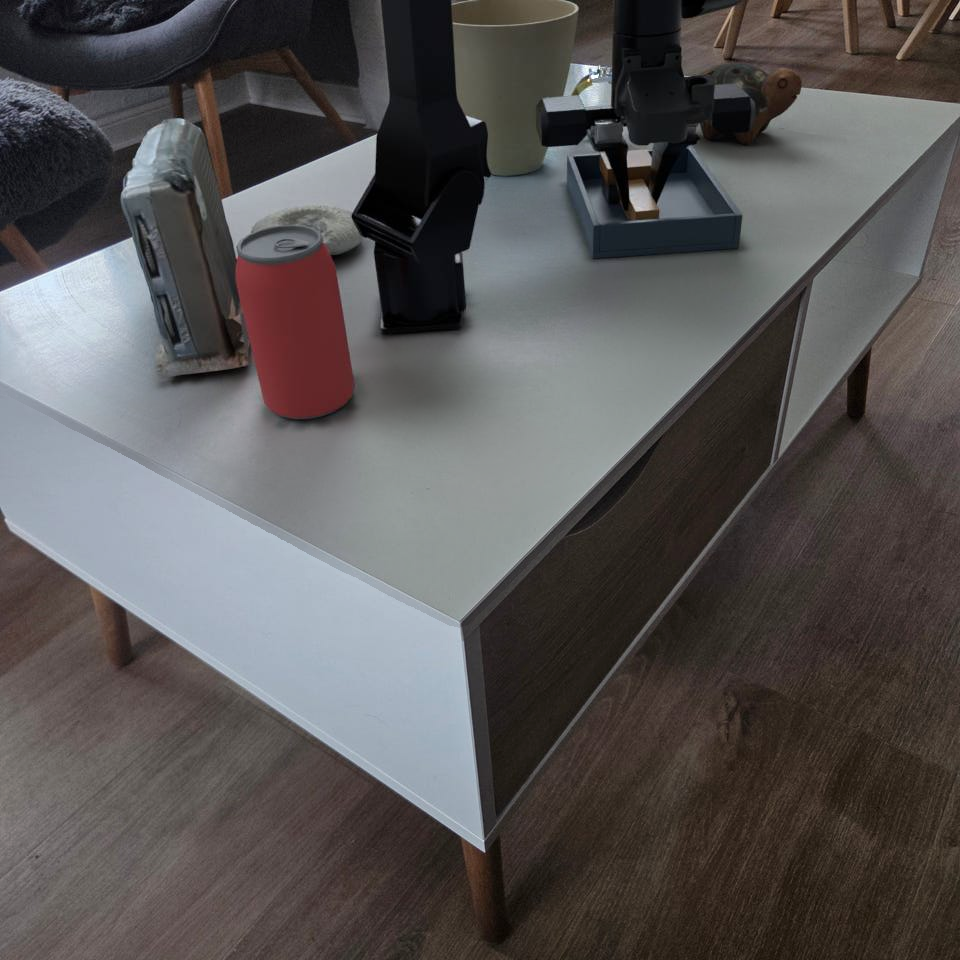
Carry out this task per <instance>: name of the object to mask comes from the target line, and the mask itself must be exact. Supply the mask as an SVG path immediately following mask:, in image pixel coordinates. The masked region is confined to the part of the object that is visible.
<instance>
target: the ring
mask: <svg viewBox="0 0 960 960" xmlns="http://www.w3.org/2000/svg"><path fill="white" fill-rule="evenodd" d="M608 68H609V70H608ZM611 82H612V67H609V66H607V65H605V66H604V67H602V65H601V64H599V65H597V68H596V70H594V71H592V67H590V68H588V74H586V75H584V76H583V77H582V78H581V79H580V80H579V81H578V82H577V84H576V85H575V87H574V89H573V91H572V93H571V95H570V96H576V95H579V96H580V95H581V93H582V92H583V91H584V90H586V89H587V88H589V87H591V86H593V83H594V84H601V83H608V84H610V85H611Z"/></svg>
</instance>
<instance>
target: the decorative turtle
mask: <svg viewBox="0 0 960 960" xmlns="http://www.w3.org/2000/svg"><path fill="white" fill-rule="evenodd" d="M698 75H712V77H713V80H714V83H715V85H720V84H734V83H736V84H737V85H738V86H739V87H740V88H741V89H743V90H744V91H745V92H746V93H747V94H748V95H749V96H750V97H751V99H752V100H753V101H754V102H755V109H756V113H755V121H754V130H752V131H750V132H743V133H733V136H735V138H736V140H737V141H738V143H739V144H741V145H742V146H749V145H750V144H751V143H753V142H754V140H755V139H756V137H757V136H758V134H759V133H760V134H761V133H763V132H764V131H765V130H767V128H768V127H769V125H770V123H771V121H772V120H773V119H776V118H777V117H779V116H780V115H782V114H784V113H785V112H786V111H787V110H788V109H789V108H790V107H792V105H793V104H794V103H795V102H796V100H797V98H798V96H800V94H801V91H802V87H803V80H802V77H801V76H800V74H799V73H798V72H797V71H795V70H794V69H791V68H788V67H778V68H775V69H773V70H772V71H771V72H769V73H767V72H766V71H764V70H763V69H762V68H760V67H757V66H755V65H751V64H747V63H739V62H738V63H730V62H729V63H723V64H719V65H715V66H712V67H710V68H708V69H705V70H704V71H702V72H700V73H699V74H698ZM710 121H711V120H709V121H704V122H703V123H701V124H699V126H700V130H701V133H702V136H703V137H704V139H705V140H708V141H714V140H715V139H717V138H719V137H720V136H721V135H722V134H719V133H718V132H717V131H716V130H715V129H714V127H713V126H712V125H711V124H710Z"/></svg>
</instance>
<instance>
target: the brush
mask: <svg viewBox="0 0 960 960" xmlns="http://www.w3.org/2000/svg"><path fill="white" fill-rule="evenodd" d="M648 150H649V149H647V148H645V149H631V150H628V152H627V167H628V181H629V196H630V197H629V206H628V211H624V212H625V214H626V217H627V219H628V221H635V220H649V219H659V211H660V210H659V208H658V206H657V204H656V202H655V201H654V199H653V197H652V195H651V193H650V191H649V180H650V171H651V161H652V157H651V155H650V154H649V152H648ZM599 153H600V170H601V172H602V183H601V186H602V188H603V191H604V193H605V195H606V198H607V200H608V202H614V201H620V204H621V206H622V203H621V200H620V197H619V193H618V190H617V187H616V183H615V180H614V177H613V173H612V170H611V167H610V164H609V161H608V158H607V156H606V154H605V152H599ZM622 208H623V207H622ZM623 210H624V209H623Z"/></svg>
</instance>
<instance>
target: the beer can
mask: <svg viewBox="0 0 960 960" xmlns="http://www.w3.org/2000/svg"><path fill="white" fill-rule="evenodd" d="M235 249H236V253H237V257H236V259H237V263H236V285H237V289H238V293H239V298H240V302H241V306H242V310H243V315H244V319H245V323H246V328H247V332H248V336H249V340H250V345H251V354H252V356H253V361H254V365H255V370H256V374H257V378H258V382H259V387H260V393H261V395H262V399H263V404H264V405H265V406H266V407H267V408H268V409H269V410H270V411H271V412H272V413H274V414H276V415H277V416H280V417H282V418H286V419H292V420H311V419H317V418H321V417H324V416H328V415H330V414H333V413H334V412H336V411H337V410H339V409H341V408H342V407H344V406H345V405H346V404H347V403H348V402H349V401H350V400H351V398H352V397H353V394H354V390H355V387H356V384H355V378H354V372H353V366H352V361H351V360H352V359H351V353H350V347H349V341H348V335H347V329H346V324H345V323H346V321H345V316H344V311H343V305H342V298H341V297H342V296H341V292H340V285H339V281H338V280H339V279H338V274H337V268H336V265H335V262H334V260H333V257H332V255H330V253H329V251H328V249H327V248H326V246H325V244H324V243H323V237H322V234H321V233H320V232H318V231H317V230H316V229H314V228H311V227H307V226H302V225H280V226H274V227H268V228H265V229H261V230H257V231H255V232H253V233H251V234H250V233H249V234H247V235H246V236H244V237H242V238H241V239H240V240H239V242H238V243H237V245H236V247H235Z"/></svg>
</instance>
